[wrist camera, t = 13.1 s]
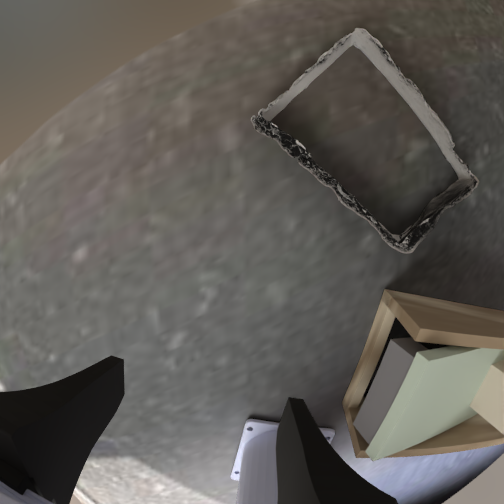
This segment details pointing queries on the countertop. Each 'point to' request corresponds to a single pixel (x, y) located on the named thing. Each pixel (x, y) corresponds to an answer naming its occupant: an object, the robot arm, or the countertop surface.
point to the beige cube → (491, 397)
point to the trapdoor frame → (430, 331)
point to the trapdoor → (420, 393)
